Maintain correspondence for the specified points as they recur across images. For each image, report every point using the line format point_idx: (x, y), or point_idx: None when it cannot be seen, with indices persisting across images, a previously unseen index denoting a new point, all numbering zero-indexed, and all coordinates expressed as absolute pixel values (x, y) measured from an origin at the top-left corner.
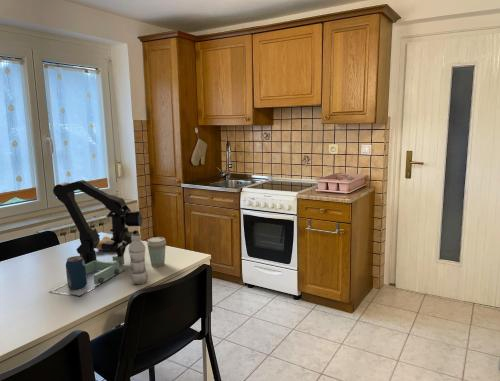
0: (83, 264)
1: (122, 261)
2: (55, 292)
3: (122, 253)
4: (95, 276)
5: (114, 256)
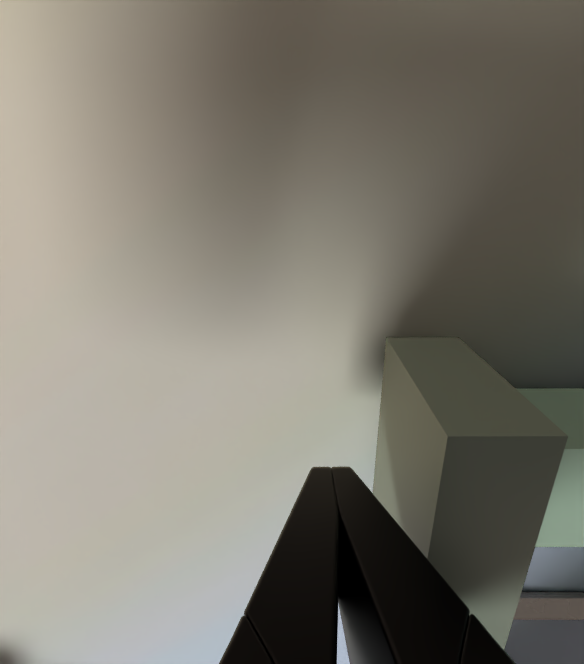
0: None
1: (477, 369)
2: None
3: (369, 581)
4: None
5: None
